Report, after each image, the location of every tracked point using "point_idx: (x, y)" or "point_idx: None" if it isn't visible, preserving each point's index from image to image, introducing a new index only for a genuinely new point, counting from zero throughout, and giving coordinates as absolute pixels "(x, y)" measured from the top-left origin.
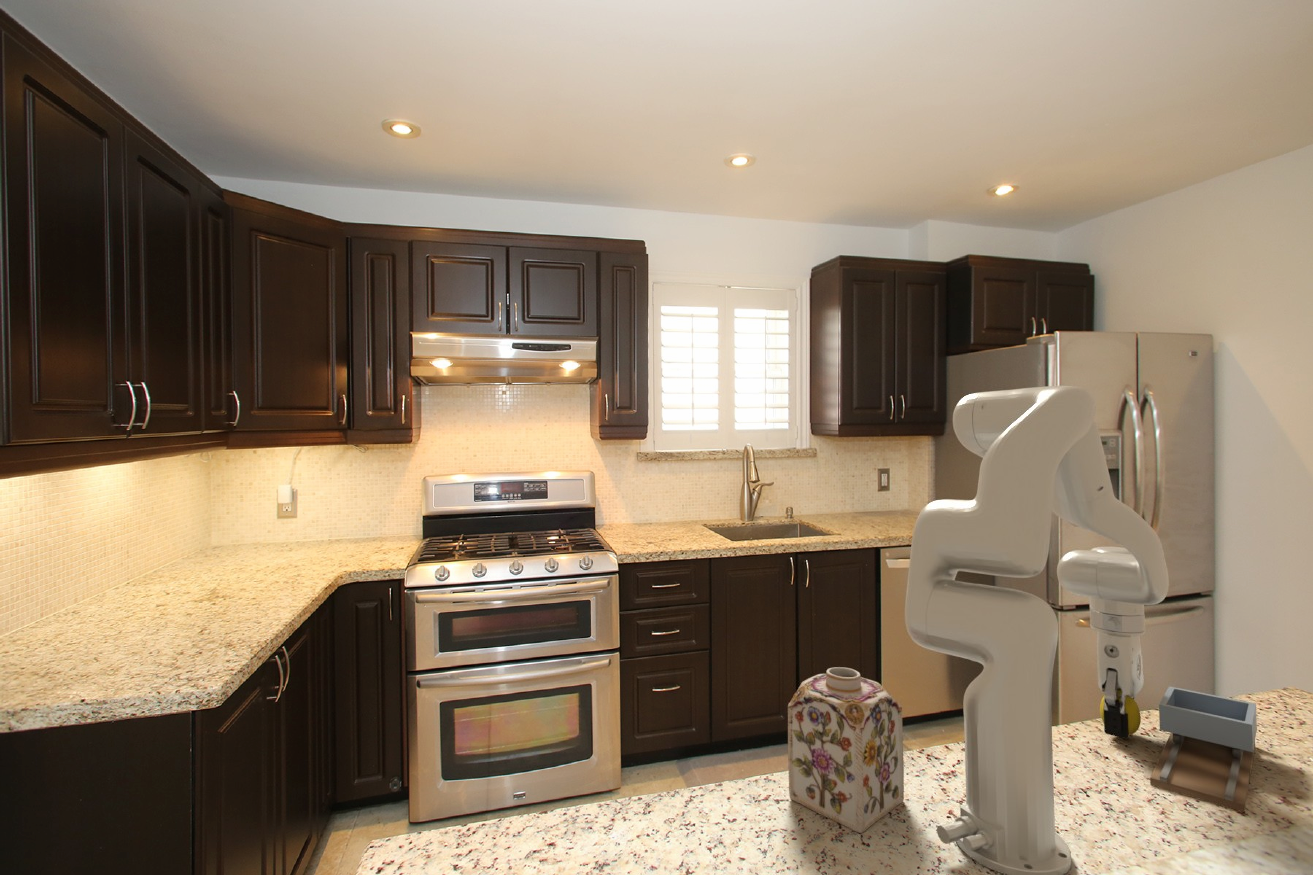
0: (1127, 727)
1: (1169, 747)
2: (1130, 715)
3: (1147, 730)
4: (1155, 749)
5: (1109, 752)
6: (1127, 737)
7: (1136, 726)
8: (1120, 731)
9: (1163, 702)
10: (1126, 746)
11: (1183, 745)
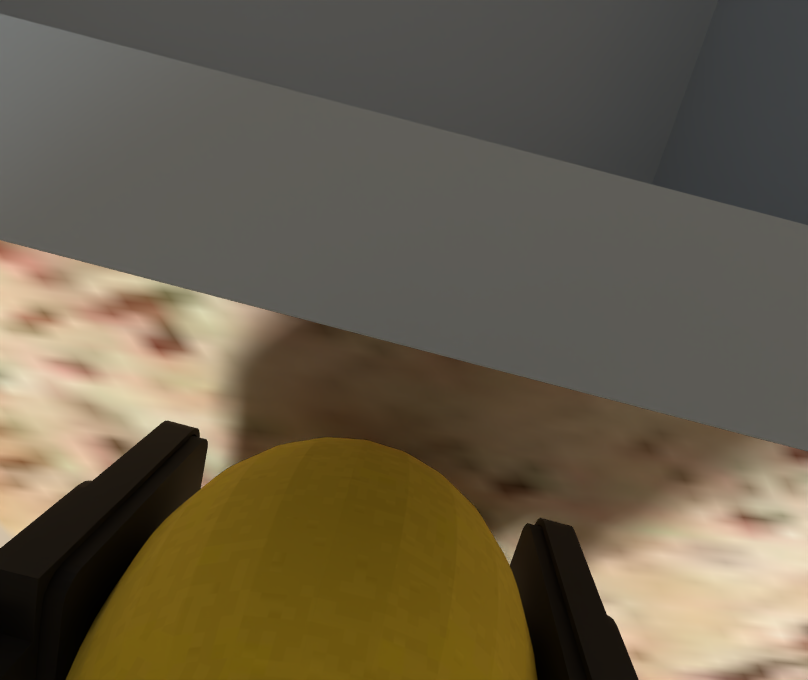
0: (599, 596)
1: None
2: (515, 646)
3: (58, 290)
4: None
5: (714, 604)
6: (571, 529)
7: (452, 489)
8: (613, 621)
9: (706, 320)
10: (529, 485)
11: None
